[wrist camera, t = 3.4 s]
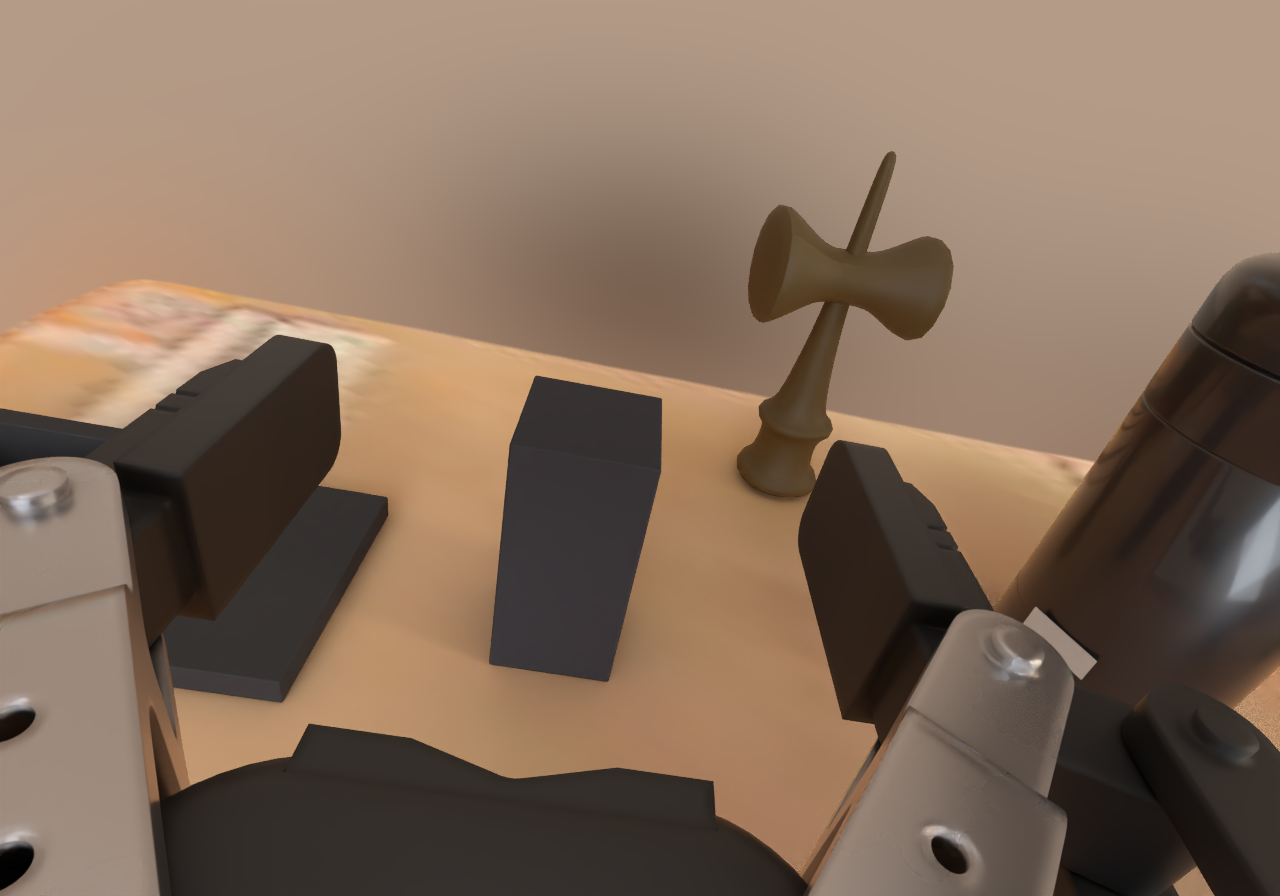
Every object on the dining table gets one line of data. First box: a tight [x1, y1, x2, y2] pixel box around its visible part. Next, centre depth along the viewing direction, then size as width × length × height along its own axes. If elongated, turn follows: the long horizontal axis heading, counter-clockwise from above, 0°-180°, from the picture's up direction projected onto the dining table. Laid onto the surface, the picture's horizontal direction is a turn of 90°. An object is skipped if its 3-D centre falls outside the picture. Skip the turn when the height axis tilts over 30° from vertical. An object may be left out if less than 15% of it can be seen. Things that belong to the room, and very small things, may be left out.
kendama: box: [737, 151, 953, 497], centre depth 37 cm, size 6×10×20 cm, turn 94°
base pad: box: [0, 408, 388, 702], centre depth 27 cm, size 18×11×4 cm, turn 88°
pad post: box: [489, 376, 662, 681], centre depth 26 cm, size 5×5×11 cm
